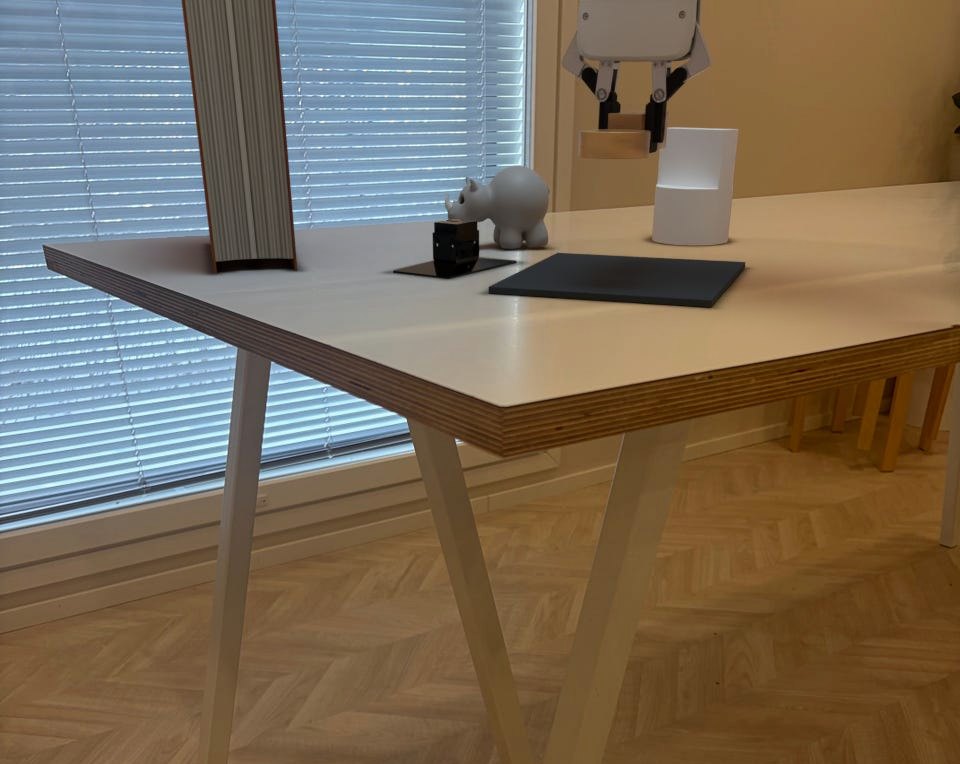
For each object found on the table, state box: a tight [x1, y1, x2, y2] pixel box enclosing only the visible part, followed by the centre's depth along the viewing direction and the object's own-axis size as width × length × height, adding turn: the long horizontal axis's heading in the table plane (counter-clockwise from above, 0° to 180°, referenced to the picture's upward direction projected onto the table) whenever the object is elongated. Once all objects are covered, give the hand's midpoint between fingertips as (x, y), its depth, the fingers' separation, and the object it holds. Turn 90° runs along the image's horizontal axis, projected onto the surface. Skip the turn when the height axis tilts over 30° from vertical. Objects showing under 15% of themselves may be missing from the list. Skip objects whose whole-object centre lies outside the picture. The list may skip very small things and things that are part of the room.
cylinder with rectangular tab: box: [651, 126, 740, 246], centre depth 120 cm, size 9×9×12 cm
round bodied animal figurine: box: [444, 165, 550, 250], centre depth 116 cm, size 7×12×8 cm, turn 100°
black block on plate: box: [392, 219, 518, 280], centre depth 105 cm, size 12×7×5 cm, turn 145°
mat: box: [488, 252, 746, 308], centre depth 99 cm, size 20×22×1 cm
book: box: [181, 0, 298, 275], centre depth 106 cm, size 23×8×30 cm, turn 14°
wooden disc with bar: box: [577, 109, 670, 160], centre depth 92 cm, size 18×6×3 cm, turn 160°
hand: (630, 149), depth 93 cm, fingers closed on wooden disc with bar, 3 cm apart
